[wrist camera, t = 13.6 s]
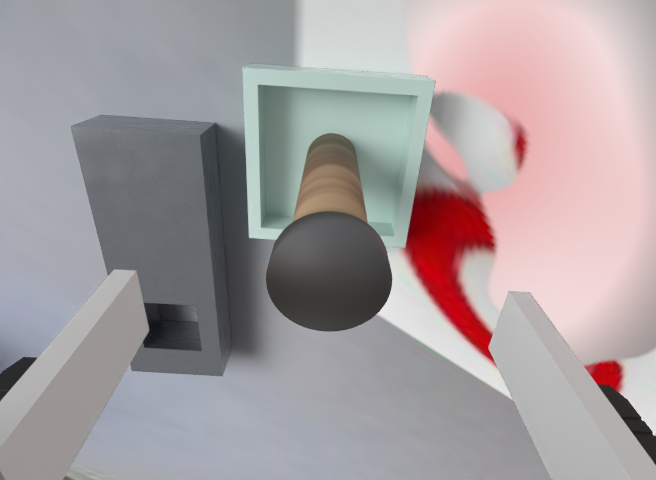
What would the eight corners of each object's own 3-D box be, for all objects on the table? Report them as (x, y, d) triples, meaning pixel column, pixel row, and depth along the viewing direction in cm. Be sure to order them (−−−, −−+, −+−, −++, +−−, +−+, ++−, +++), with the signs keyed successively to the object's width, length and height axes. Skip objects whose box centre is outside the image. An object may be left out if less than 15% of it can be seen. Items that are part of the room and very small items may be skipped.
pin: (300, 123, 30) (265, 223, 15) (367, 127, 30) (401, 231, 15) (298, 186, 33) (266, 327, 17) (360, 190, 33) (383, 334, 17)
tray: (251, 63, 29) (242, 67, 26) (426, 75, 29) (435, 81, 26) (255, 221, 35) (249, 237, 32) (399, 230, 35) (404, 247, 33)
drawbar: (100, 114, 31) (70, 126, 27) (215, 122, 31) (199, 135, 27) (148, 342, 42) (131, 370, 39) (231, 347, 42) (222, 376, 39)
